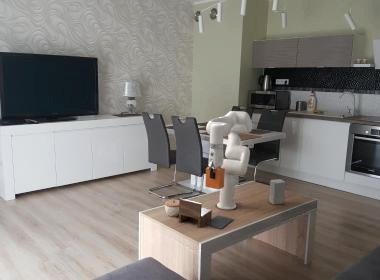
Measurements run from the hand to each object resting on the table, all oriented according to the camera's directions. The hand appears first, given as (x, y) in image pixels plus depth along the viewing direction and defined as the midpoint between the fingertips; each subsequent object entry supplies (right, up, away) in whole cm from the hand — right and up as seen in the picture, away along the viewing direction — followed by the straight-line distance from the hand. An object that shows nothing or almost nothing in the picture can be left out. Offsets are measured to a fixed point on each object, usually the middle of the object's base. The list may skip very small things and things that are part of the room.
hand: (215, 176), depth 207 cm
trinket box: (-24, -25, +14) cm, 38 cm away
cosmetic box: (+45, -22, +39) cm, 63 cm away
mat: (+3, -27, +4) cm, 28 cm away
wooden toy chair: (-11, -26, +6) cm, 29 cm away
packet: (0, -6, +1) cm, 6 cm away
